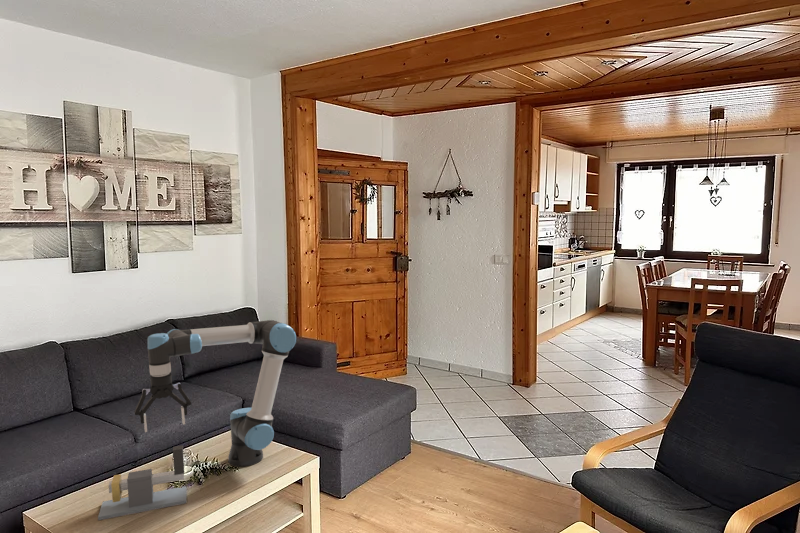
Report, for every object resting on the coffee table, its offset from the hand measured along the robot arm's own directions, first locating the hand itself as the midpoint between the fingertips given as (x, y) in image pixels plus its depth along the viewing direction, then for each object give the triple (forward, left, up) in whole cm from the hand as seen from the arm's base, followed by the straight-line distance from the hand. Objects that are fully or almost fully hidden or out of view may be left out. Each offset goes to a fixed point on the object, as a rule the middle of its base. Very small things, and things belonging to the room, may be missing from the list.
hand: (165, 427), depth 213 cm
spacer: (+18, +3, -24) cm, 30 cm away
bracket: (+9, +3, -28) cm, 30 cm away
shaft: (+7, +3, -21) cm, 22 cm away
